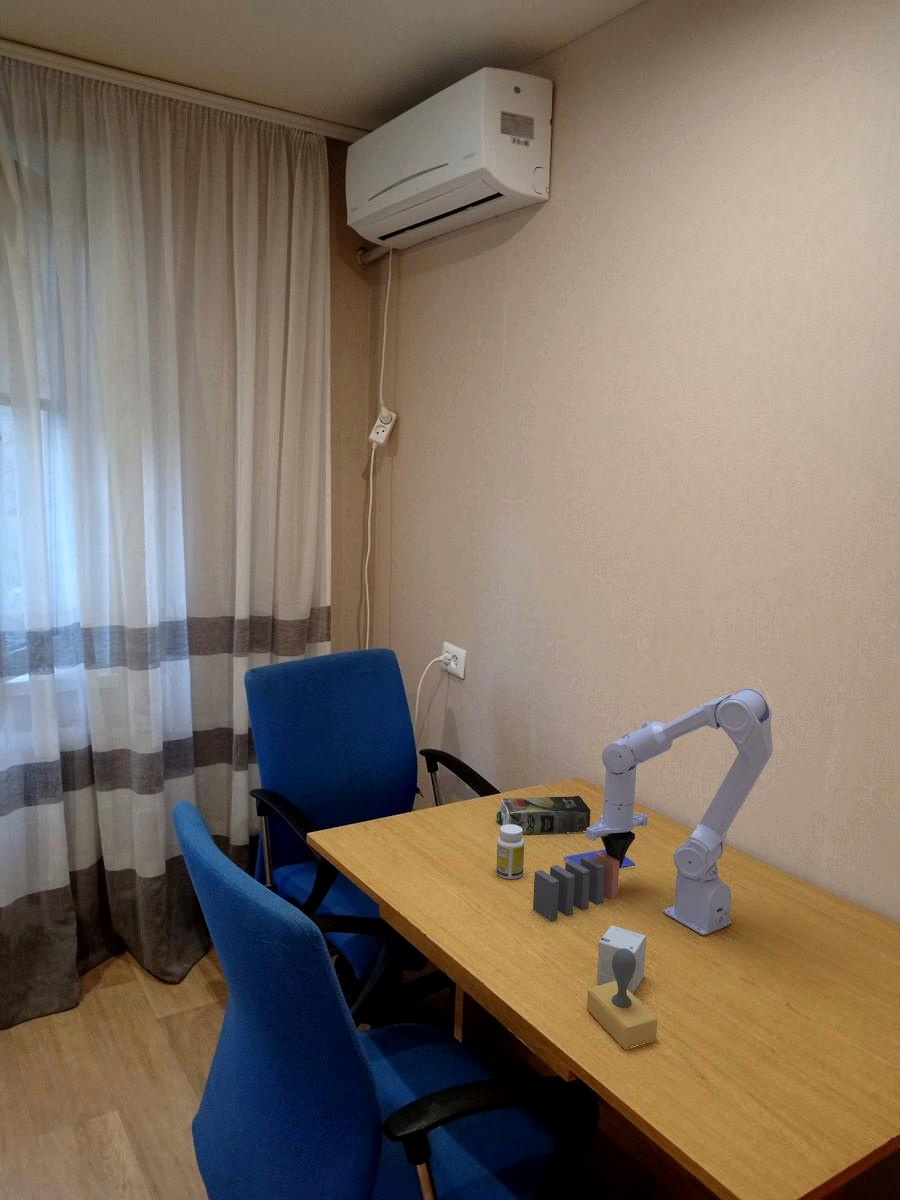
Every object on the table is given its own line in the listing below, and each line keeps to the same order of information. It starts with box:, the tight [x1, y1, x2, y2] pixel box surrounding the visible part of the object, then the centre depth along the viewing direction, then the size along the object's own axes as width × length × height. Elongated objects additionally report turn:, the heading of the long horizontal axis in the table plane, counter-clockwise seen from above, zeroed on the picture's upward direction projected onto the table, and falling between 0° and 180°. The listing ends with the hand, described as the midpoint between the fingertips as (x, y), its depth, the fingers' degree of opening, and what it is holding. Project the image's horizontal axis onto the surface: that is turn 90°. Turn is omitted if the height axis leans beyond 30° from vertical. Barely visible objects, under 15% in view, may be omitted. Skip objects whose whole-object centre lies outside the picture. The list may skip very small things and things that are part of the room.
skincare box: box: [596, 925, 647, 995], centre depth 135 cm, size 6×6×7 cm
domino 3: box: [564, 860, 590, 912], centre depth 159 cm, size 2×5×8 cm, turn 34°
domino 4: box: [580, 856, 605, 906], centre depth 161 cm, size 2×5×8 cm, turn 34°
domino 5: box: [595, 851, 620, 901], centre depth 163 cm, size 2×5×8 cm, turn 34°
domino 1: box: [532, 869, 559, 922], centre depth 155 cm, size 2×5×8 cm, turn 34°
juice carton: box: [496, 795, 591, 836], centre depth 194 cm, size 20×10×6 cm, turn 98°
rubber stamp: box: [586, 948, 658, 1050], centre depth 124 cm, size 10×6×12 cm, turn 24°
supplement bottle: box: [495, 824, 525, 880], centre depth 170 cm, size 6×5×10 cm
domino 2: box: [549, 864, 575, 917], centre depth 157 cm, size 2×5×8 cm, turn 34°
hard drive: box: [562, 848, 636, 870], centre depth 176 cm, size 2×8×12 cm
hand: (614, 866), depth 164 cm, fingers closed
